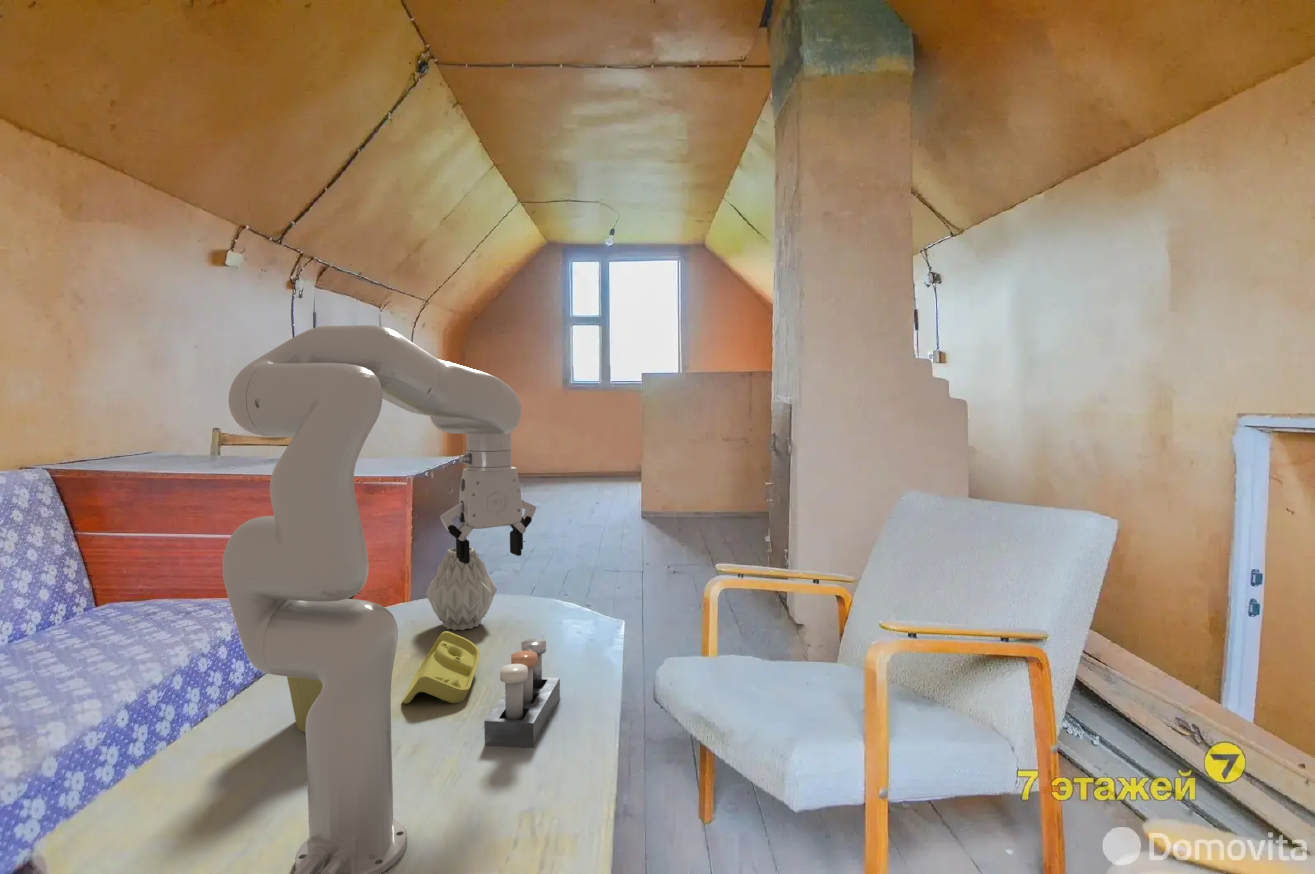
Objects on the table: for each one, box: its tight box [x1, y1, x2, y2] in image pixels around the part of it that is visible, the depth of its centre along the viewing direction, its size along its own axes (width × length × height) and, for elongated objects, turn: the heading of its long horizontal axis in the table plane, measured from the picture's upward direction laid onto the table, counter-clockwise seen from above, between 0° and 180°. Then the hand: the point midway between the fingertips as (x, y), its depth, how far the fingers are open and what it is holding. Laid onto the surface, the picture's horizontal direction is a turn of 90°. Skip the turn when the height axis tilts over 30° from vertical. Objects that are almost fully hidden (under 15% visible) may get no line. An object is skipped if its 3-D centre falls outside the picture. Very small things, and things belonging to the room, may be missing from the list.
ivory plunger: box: [499, 663, 528, 720], centre depth 118 cm, size 4×4×8 cm
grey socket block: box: [483, 676, 561, 749], centre depth 124 cm, size 18×8×4 cm, turn 174°
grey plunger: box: [520, 638, 547, 689], centre depth 130 cm, size 4×4×8 cm
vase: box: [425, 546, 498, 631], centre depth 173 cm, size 16×16×18 cm
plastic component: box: [401, 630, 481, 705], centre depth 140 cm, size 20×7×10 cm
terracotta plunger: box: [510, 650, 537, 704], centre depth 124 cm, size 4×4×8 cm
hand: (490, 558), depth 126 cm, fingers open, 9 cm apart
